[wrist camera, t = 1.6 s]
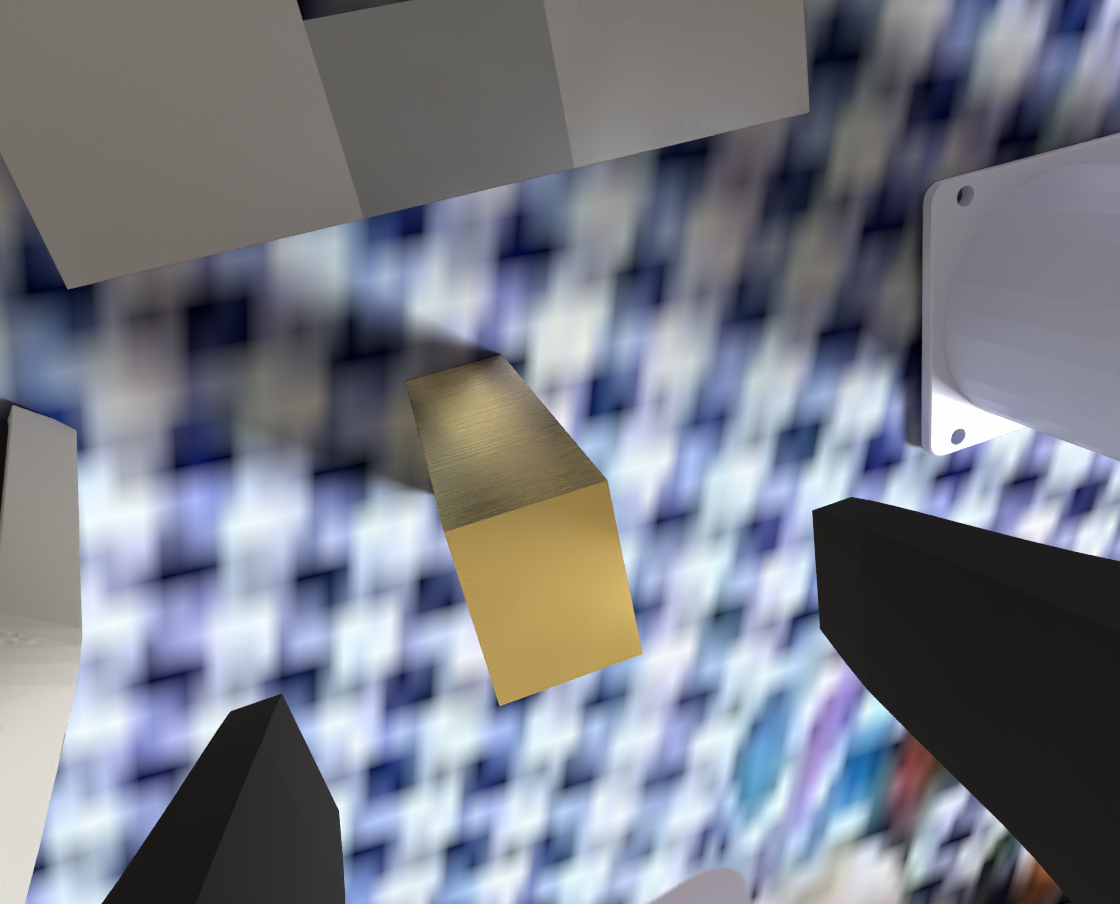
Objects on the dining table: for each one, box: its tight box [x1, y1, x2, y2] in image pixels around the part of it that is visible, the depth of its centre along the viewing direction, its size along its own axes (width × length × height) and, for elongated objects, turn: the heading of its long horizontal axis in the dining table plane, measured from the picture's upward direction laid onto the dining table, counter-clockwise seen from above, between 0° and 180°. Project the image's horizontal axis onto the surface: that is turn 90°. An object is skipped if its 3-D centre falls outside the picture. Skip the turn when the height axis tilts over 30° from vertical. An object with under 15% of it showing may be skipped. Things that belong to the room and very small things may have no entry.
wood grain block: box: [406, 354, 642, 706], centre depth 14 cm, size 2×3×8 cm
